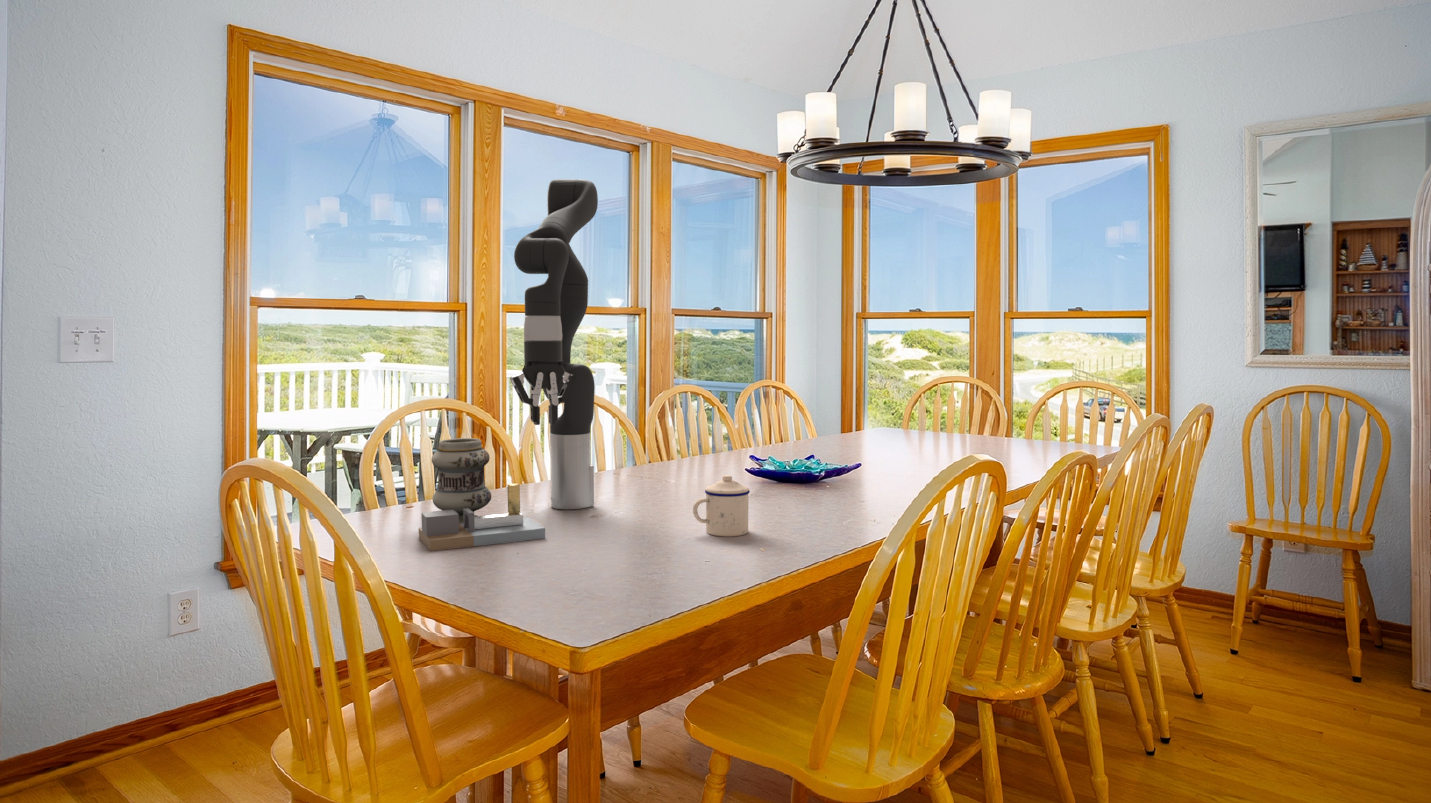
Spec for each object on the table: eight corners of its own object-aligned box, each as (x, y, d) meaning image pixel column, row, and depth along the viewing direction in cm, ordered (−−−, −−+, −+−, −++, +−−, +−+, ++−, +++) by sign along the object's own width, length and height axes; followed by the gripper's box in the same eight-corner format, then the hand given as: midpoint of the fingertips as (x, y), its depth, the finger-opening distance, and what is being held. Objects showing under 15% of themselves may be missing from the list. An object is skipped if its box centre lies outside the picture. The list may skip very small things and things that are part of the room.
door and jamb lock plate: (527, 526, 187) (527, 499, 187) (545, 538, 177) (544, 509, 176) (418, 537, 177) (418, 509, 177) (430, 550, 167) (429, 520, 166)
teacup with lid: (737, 525, 188) (738, 470, 187) (757, 534, 180) (757, 477, 179) (684, 530, 184) (684, 474, 183) (702, 540, 175) (702, 481, 174)
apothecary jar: (450, 516, 197) (448, 435, 195) (501, 519, 194) (500, 437, 193) (421, 528, 185) (419, 442, 183) (475, 531, 182) (474, 444, 181)
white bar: (519, 521, 182) (519, 483, 181) (523, 524, 180) (522, 484, 179) (470, 527, 177) (469, 487, 176) (473, 529, 175) (472, 489, 174)
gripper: (570, 338, 186) (571, 420, 188) (503, 338, 180) (505, 424, 181) (582, 338, 180) (583, 424, 181) (513, 339, 173) (515, 427, 175)
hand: (544, 423), depth 181 cm, fingers closed
